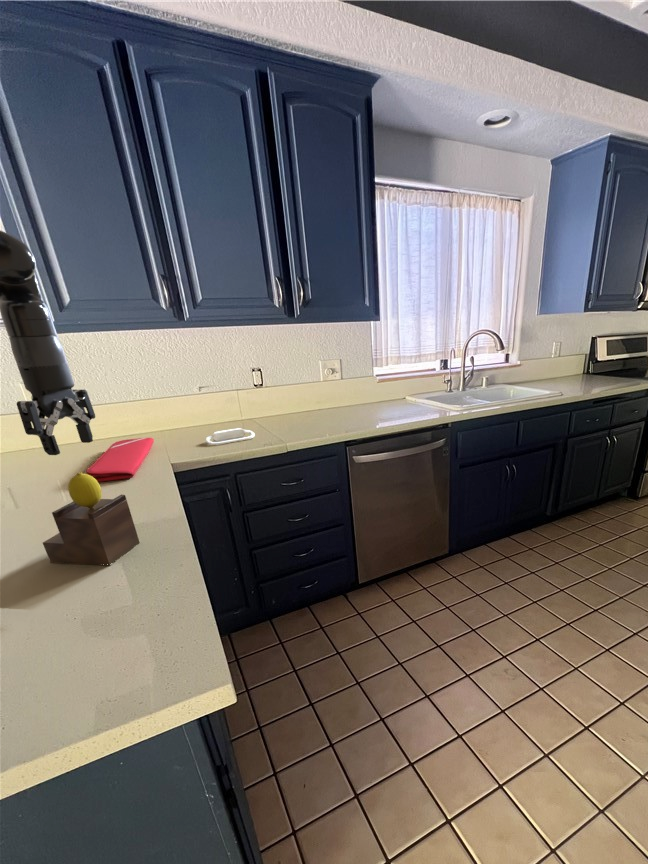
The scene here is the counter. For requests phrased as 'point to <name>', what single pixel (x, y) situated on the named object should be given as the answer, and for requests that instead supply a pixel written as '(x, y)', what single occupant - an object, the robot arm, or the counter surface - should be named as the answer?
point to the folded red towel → (121, 460)
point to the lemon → (85, 490)
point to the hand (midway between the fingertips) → (71, 448)
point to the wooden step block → (92, 533)
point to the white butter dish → (229, 436)
